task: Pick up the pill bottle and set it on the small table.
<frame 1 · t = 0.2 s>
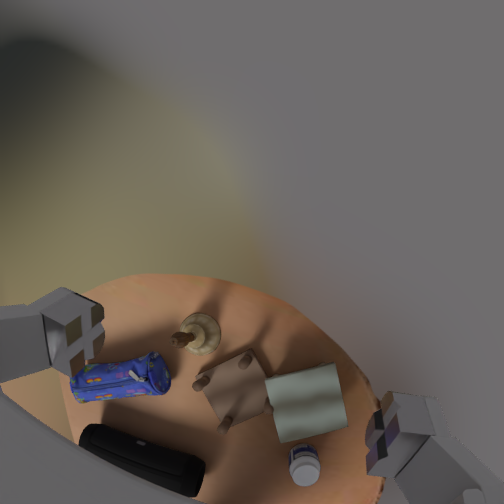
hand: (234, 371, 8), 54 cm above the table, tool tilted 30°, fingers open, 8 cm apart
pencil case: (127, 376, 62), on the table
hand bell: (200, 334, 62), on the table
pill bottle: (302, 454, 55), on the table
upturned stool: (238, 388, 59), on the table
small table: (304, 394, 57), on the table
portable speaker: (149, 452, 58), on the table
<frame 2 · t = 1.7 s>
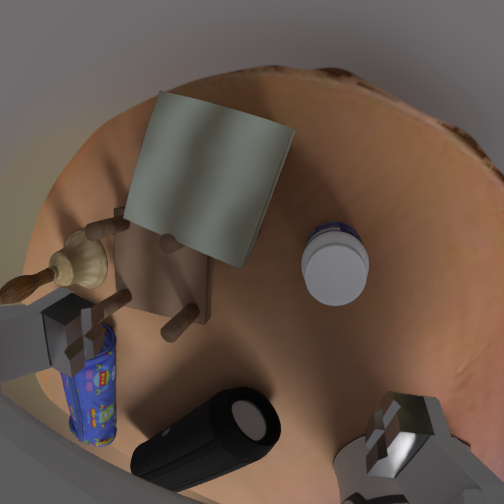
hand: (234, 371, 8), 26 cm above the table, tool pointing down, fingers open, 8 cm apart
pencil case: (105, 373, 46), on the table
hand bell: (86, 259, 41), on the table
pill bottle: (334, 247, 33), on the table
upturned stool: (164, 261, 37), on the table
small table: (227, 174, 33), on the table
portable speaker: (206, 427, 43), on the table
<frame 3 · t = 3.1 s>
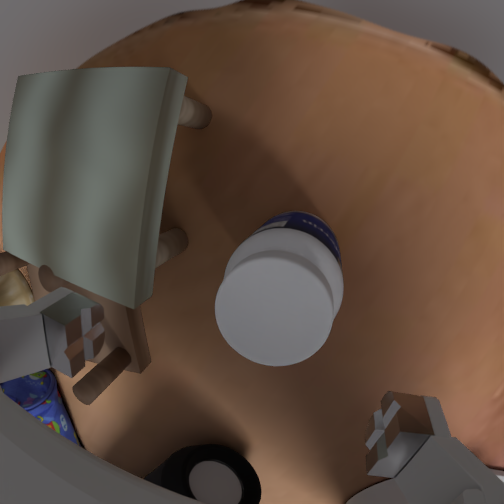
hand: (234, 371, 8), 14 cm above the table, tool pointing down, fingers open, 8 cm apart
pencil case: (67, 421, 35), on the table
hand bell: (17, 297, 31), on the table
pill bottle: (296, 251, 22), on the table
upturned stool: (86, 294, 27), on the table
small table: (133, 168, 23), on the table
portable speaker: (184, 480, 32), on the table
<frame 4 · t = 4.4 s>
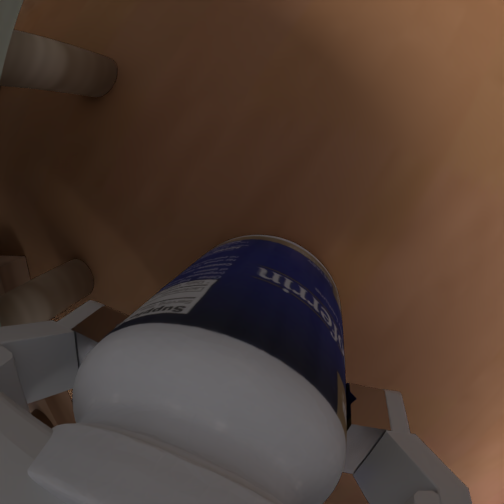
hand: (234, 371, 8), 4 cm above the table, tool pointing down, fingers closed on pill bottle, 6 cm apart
pill bottle: (263, 303, 12), on the table, touching gripper
upturned stool: (1, 335, 17), on the table
small table: (23, 169, 13), on the table
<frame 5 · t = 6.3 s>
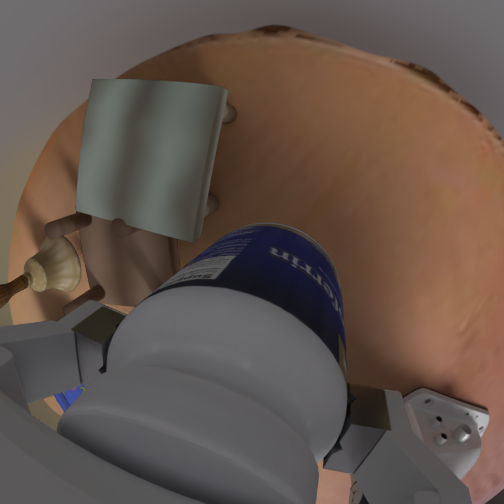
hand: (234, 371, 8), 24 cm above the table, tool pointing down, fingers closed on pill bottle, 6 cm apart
pencil case: (97, 376, 45), on the table
hand bell: (60, 262, 39), on the table
pill bottle: (271, 286, 13), point 18 cm above the table, touching gripper
upturned stool: (131, 251, 36), on the table
small table: (177, 151, 31), on the table
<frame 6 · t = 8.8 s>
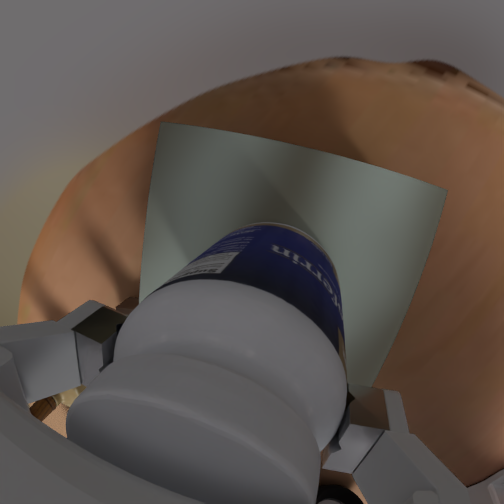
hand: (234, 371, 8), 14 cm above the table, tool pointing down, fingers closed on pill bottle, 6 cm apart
hand bell: (92, 359, 29), on the table
pill bottle: (271, 284, 14), point 8 cm above the table, touching gripper, small table
small table: (289, 242, 21), on the table
when the fingers open (14 cm above the table, at t = 9.0 s): pill bottle stays where it is, resting on small table.
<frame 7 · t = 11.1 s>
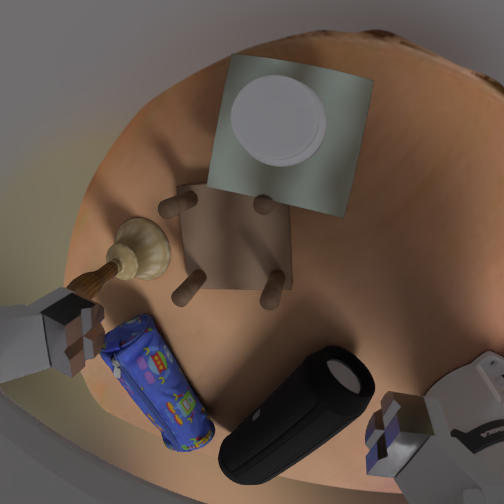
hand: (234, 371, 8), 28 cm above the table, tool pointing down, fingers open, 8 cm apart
pencil case: (171, 369, 46), on the table
hand bell: (142, 248, 40), on the table
pill bottle: (289, 129, 25), point 8 cm above the table, touching small table
upturned stool: (237, 233, 37), on the table
small table: (294, 135, 33), on the table
portable speaker: (291, 402, 44), on the table
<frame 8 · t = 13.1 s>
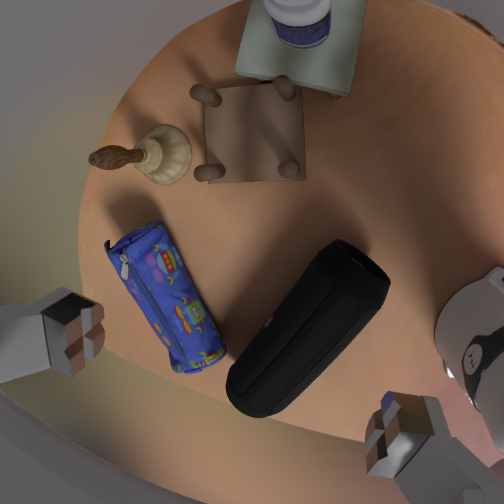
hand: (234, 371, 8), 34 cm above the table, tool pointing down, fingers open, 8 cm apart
pencil case: (180, 287, 48), on the table
hand bell: (165, 155, 43), on the table
pill bottle: (302, 28, 27), point 8 cm above the table, touching small table
upturned stool: (256, 133, 39), on the table
small table: (306, 52, 35), on the table
portable speaker: (304, 320, 45), on the table
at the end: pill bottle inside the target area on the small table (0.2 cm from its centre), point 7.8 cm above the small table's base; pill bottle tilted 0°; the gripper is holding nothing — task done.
